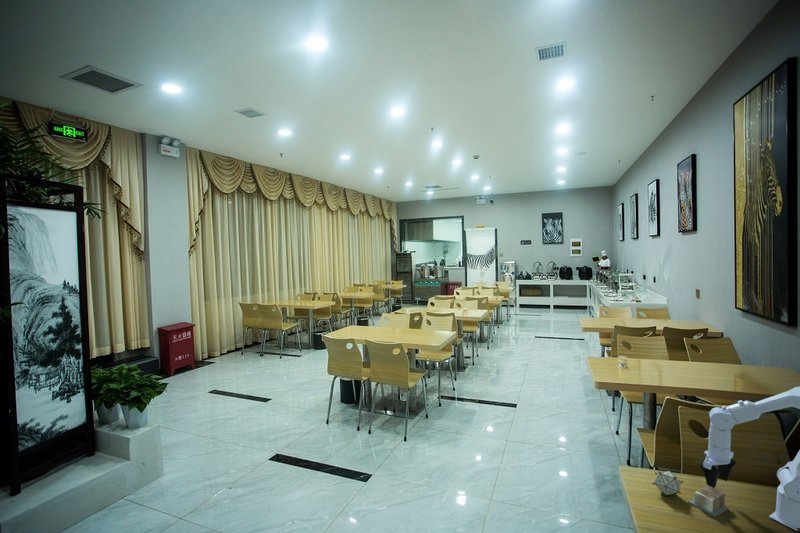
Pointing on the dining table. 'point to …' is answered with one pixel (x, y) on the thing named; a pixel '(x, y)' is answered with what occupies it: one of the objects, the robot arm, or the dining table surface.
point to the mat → (714, 513)
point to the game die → (667, 483)
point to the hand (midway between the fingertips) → (717, 482)
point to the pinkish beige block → (709, 498)
